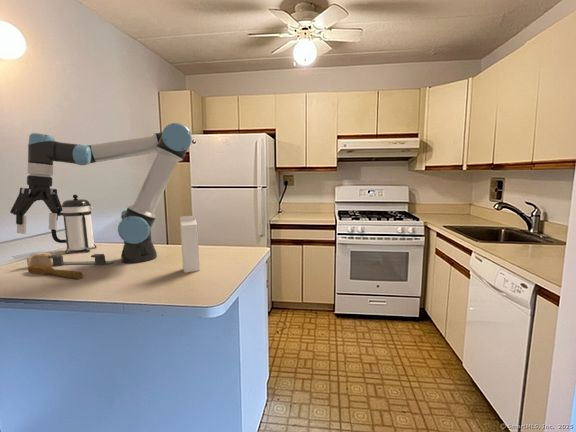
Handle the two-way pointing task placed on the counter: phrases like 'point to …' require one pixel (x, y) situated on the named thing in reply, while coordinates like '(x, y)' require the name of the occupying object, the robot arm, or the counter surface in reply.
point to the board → (58, 260)
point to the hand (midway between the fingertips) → (37, 231)
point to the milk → (189, 243)
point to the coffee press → (76, 225)
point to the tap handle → (54, 272)
